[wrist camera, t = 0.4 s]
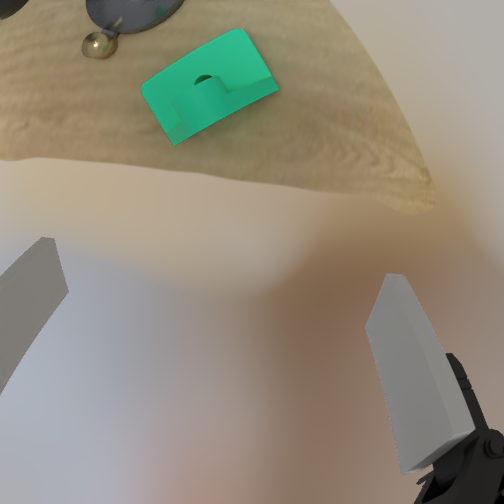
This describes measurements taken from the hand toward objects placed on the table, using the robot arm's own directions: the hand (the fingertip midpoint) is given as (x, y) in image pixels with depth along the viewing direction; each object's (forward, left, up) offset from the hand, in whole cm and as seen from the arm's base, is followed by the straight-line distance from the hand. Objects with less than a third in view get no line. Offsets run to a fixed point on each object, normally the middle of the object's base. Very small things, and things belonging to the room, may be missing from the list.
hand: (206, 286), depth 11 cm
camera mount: (-8, 0, -24) cm, 25 cm away
